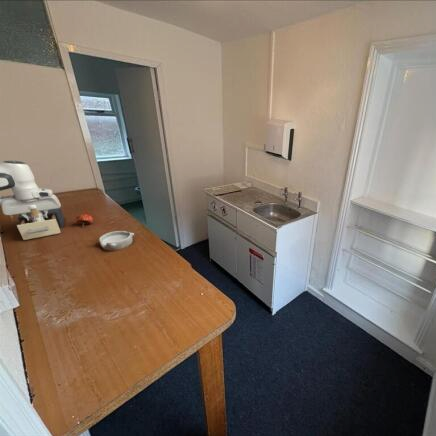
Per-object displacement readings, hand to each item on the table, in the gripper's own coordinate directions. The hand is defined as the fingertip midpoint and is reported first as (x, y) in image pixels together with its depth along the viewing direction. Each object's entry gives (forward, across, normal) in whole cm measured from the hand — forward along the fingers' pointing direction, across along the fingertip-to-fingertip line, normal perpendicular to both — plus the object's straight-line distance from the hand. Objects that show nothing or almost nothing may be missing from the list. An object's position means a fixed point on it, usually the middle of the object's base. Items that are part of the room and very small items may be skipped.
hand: (38, 219), depth 121 cm
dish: (+9, +29, -35) cm, 47 cm away
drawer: (+8, 0, -1) cm, 8 cm away
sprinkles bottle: (+5, 0, 0) cm, 5 cm away
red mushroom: (+5, +17, +1) cm, 18 cm away
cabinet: (+9, 0, +12) cm, 14 cm away
